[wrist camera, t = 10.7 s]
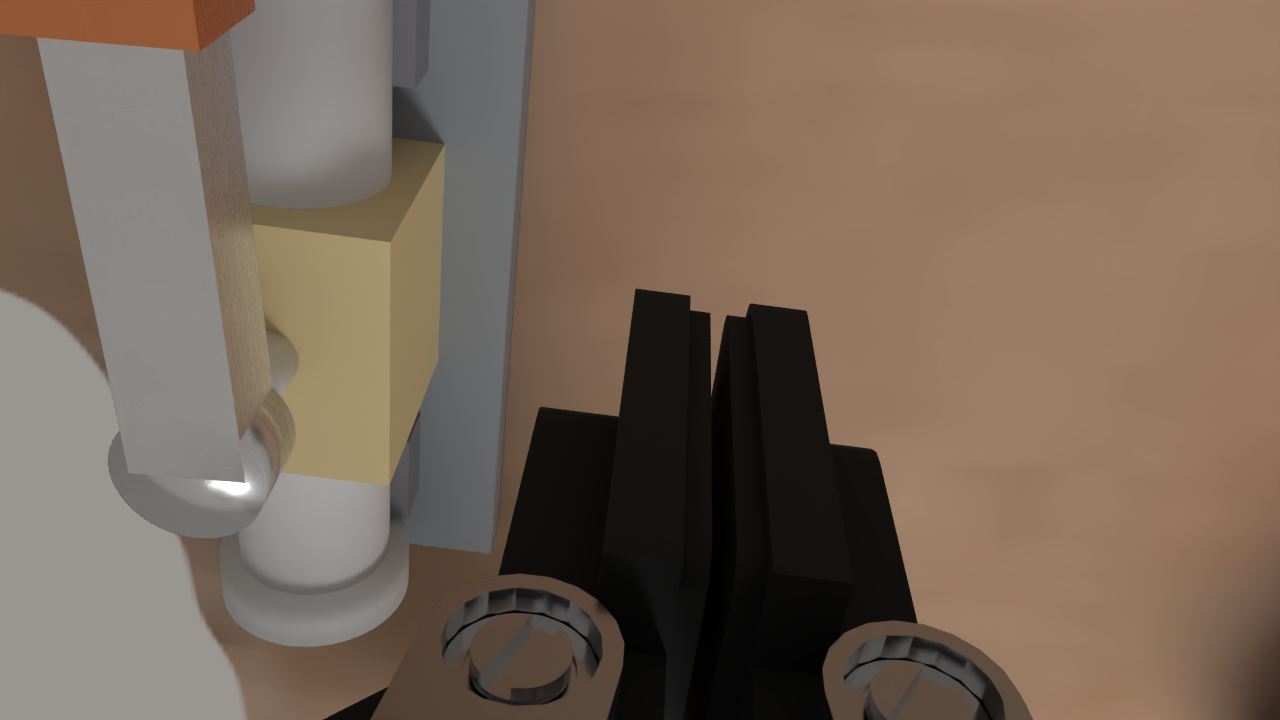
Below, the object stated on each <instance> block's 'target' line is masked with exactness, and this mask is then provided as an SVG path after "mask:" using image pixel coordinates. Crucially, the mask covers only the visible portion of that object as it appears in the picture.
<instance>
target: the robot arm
mask: <svg viewBox="0 0 1280 720" xmlns="http://www.w3.org/2000/svg"><path fill="white" fill-rule="evenodd" d="M323 720H1033V718H1032V716H1031V714H1030V712H1029V710H1028V708H1027V706H1026V704H1025V702H1024V700H1023V698H1022V696H1021V695H1020V693H1019V692H1018V690H1017V689H1016V687H1015V686H1014V684H1013V683H1012V682H1011V680H1010V679H1009V677H1008V676H1007V674H1006V673H1005V672H1004V670H1003V669H1001V668H1000V667H999V666H998V665H997V664H996V663H995V662H994V661H992V660H991V659H990V658H989V657H988V656H987V655H986V654H984V653H983V652H982V651H981V650H979V649H978V648H976V647H974V646H972V645H971V644H969V643H967V642H966V641H964V640H962V639H960V638H959V637H957V636H955V635H953V634H951V633H948V632H945V631H942V630H939V629H936V628H933V627H930V626H927V625H924V624H918V623H917V619H916V614H915V610H914V606H913V601H912V597H911V593H910V589H909V584H908V580H907V576H906V572H905V567H904V563H903V559H902V555H901V550H900V546H899V542H898V537H897V533H896V529H895V525H894V520H893V516H892V512H891V508H890V503H889V499H888V495H887V491H886V486H885V482H884V478H883V474H882V469H881V465H880V461H879V458H878V456H877V453H876V452H875V451H874V450H872V449H868V448H860V447H852V446H844V445H836V444H830V443H829V437H828V431H827V425H826V419H825V413H824V408H823V402H822V396H821V390H820V384H819V378H818V373H817V367H816V361H815V355H814V349H813V343H812V338H811V332H810V326H809V320H808V315H807V312H806V311H804V310H796V309H789V308H781V307H773V306H765V305H758V304H750V305H749V307H748V311H747V314H746V318H745V317H737V316H729V315H727V317H726V320H725V324H724V328H723V334H722V339H721V345H720V351H719V356H718V362H717V367H716V373H715V379H714V384H713V390H712V396H711V329H710V313H706V312H698V311H691V310H690V296H688V295H681V294H673V293H665V292H657V291H650V290H642V289H636V290H635V297H634V305H633V312H632V320H631V328H630V335H629V343H628V351H627V358H626V366H625V374H624V381H623V389H622V397H621V405H620V412H619V417H617V416H609V415H601V414H593V413H586V412H578V411H570V410H562V409H554V408H547V407H540V409H539V411H538V415H537V418H536V422H535V427H534V431H533V435H532V439H531V443H530V447H529V451H528V455H527V460H526V464H525V468H524V472H523V476H522V480H521V484H520V488H519V493H518V497H517V501H516V505H515V509H514V513H513V517H512V522H511V526H510V530H509V534H508V538H507V542H506V546H505V550H504V555H503V559H502V563H501V567H500V571H499V575H498V576H490V577H487V578H484V579H481V580H478V581H475V582H472V583H469V584H466V585H463V586H461V587H460V588H458V589H457V590H455V591H454V592H452V593H451V594H449V595H448V596H446V597H444V598H443V599H441V600H440V601H439V602H438V604H437V605H436V606H435V607H434V609H433V610H432V611H431V612H430V614H429V615H428V616H427V617H426V618H425V620H424V621H423V623H422V625H421V627H420V629H419V631H418V633H417V634H416V636H415V638H414V640H413V642H412V644H411V646H410V647H409V649H408V651H407V653H406V655H405V657H404V658H403V660H402V662H401V664H400V666H399V668H398V670H397V671H396V673H395V675H394V677H393V679H392V681H391V682H390V684H389V686H388V687H387V688H385V689H383V690H381V691H379V692H377V693H375V694H373V695H371V696H369V697H367V698H365V699H363V700H361V701H359V702H357V703H355V704H353V705H351V706H349V707H347V708H345V709H343V710H341V711H339V712H337V713H335V714H333V715H331V716H329V717H327V718H325V719H323Z"/></svg>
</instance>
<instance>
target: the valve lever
mask: <svg viewBox="0 0 1280 720" xmlns="http://www.w3.org/2000/svg"><path fill="white" fill-rule="evenodd" d="M254 11H255V1H254V0H0V33H1V35H12V36H24V37H35V38H37V42H38V47H39V52H40V56H41V61H42V66H43V71H44V75H45V80H46V85H47V90H48V94H49V99H50V104H51V108H52V113H53V118H54V123H55V127H56V132H57V137H58V141H59V146H60V151H61V156H62V160H63V165H64V170H65V175H66V179H67V184H68V189H69V193H70V198H71V203H72V208H73V212H74V217H75V222H76V226H77V231H78V236H79V241H80V245H81V250H82V255H83V260H84V264H85V269H86V274H87V278H88V283H89V288H90V293H91V297H92V302H93V307H94V311H95V316H96V321H97V326H98V330H99V335H100V340H101V345H102V349H103V354H104V359H105V363H106V368H107V373H108V378H109V382H110V387H111V392H112V396H113V401H114V406H115V411H116V415H117V420H118V425H119V430H120V431H119V432H118V433H117V435H116V436H115V438H114V440H113V441H112V444H111V446H110V450H109V455H108V466H109V472H110V475H111V479H112V481H113V483H114V486H115V487H116V489H117V491H118V492H119V494H120V496H121V497H122V498H123V499H124V500H125V502H126V503H127V504H128V505H129V506H130V507H131V508H132V509H133V510H134V511H135V512H136V513H138V514H139V515H140V516H141V517H143V518H144V519H146V520H147V521H149V522H150V523H152V524H154V525H156V526H158V527H160V528H162V529H164V530H167V531H169V532H172V533H175V534H178V535H182V536H186V537H193V538H206V539H208V538H219V537H225V536H228V535H232V534H235V533H237V532H239V531H241V530H243V529H244V528H246V527H247V526H249V525H250V524H251V523H252V522H253V521H254V520H255V519H256V517H257V516H258V515H259V513H260V511H261V509H262V507H263V506H264V504H265V502H266V500H267V498H268V496H269V494H270V492H271V491H272V489H273V487H274V485H275V483H276V481H277V479H278V477H279V476H280V474H281V472H282V470H283V468H284V466H285V464H286V462H287V461H288V459H289V457H290V455H291V453H292V451H293V448H294V445H295V439H296V429H295V423H294V419H293V417H292V414H291V412H290V410H289V408H288V406H287V404H286V403H285V401H284V400H283V398H282V397H281V396H280V395H279V393H278V392H277V391H276V390H275V389H274V388H273V387H272V378H271V370H270V362H269V354H268V345H267V337H266V329H265V321H264V312H263V304H262V296H261V288H260V279H259V271H258V263H257V255H256V246H255V238H254V230H253V221H252V213H251V205H250V197H249V188H248V180H247V172H246V164H245V155H244V147H243V139H242V131H241V122H240V114H239V106H238V97H237V89H236V81H235V73H234V64H233V56H232V48H231V40H230V31H229V29H231V28H232V27H233V26H235V25H236V24H237V23H239V22H240V21H242V20H243V19H244V18H246V17H247V16H248V15H250V14H251V13H252V12H254Z"/></svg>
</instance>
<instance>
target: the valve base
mask: <svg viewBox="0 0 1280 720" xmlns="http://www.w3.org/2000/svg"><path fill="white" fill-rule="evenodd" d="M254 1H255V11H254V12H252V13H251V14H250V15H248V16H247V17H246V18H244V19H243V20H242V21H240V22H239V23H237V24H236V25H235V26H233V27H232V28H231V29H229V31H230V40H231V48H232V56H233V64H234V73H235V81H236V89H237V97H238V106H239V114H240V122H241V131H242V139H243V147H244V155H245V164H246V172H247V180H248V188H249V197H250V205H251V213H252V221H253V230H254V238H255V246H256V255H257V263H258V271H259V279H260V288H261V296H262V304H263V312H264V321H265V329H266V337H267V345H268V354H269V362H270V370H271V378H272V387H273V388H274V389H275V390H276V391H277V392H278V393H279V395H280V396H281V397H282V398H283V400H284V401H285V403H286V404H287V406H288V408H289V410H290V412H291V414H292V417H293V419H294V423H295V429H296V439H295V445H294V448H293V451H292V453H291V455H290V457H289V459H288V461H287V462H286V464H285V466H284V468H283V470H282V472H281V474H280V476H279V477H278V479H277V481H276V483H275V485H274V487H273V489H272V491H271V492H270V494H269V496H268V498H267V500H266V502H265V504H264V506H263V507H262V509H261V511H260V513H259V515H258V516H257V517H256V519H255V520H254V521H253V522H252V523H251V524H250V525H249V526H247V527H246V528H244V529H243V530H241V531H239V532H237V533H235V534H232V535H228V536H225V537H222V539H221V543H220V547H219V564H220V574H221V584H222V594H223V600H224V604H225V606H226V609H227V611H228V612H229V614H230V616H231V617H232V618H233V620H234V621H235V622H236V623H237V624H238V625H239V626H240V627H242V628H243V629H244V630H245V631H247V632H249V633H250V634H252V635H254V636H256V637H258V638H261V639H263V640H265V641H269V642H272V643H276V644H280V645H286V646H295V647H317V646H326V645H331V644H336V643H341V642H344V641H347V640H350V639H353V638H356V637H358V636H361V635H363V634H365V633H367V632H369V631H371V630H372V629H374V628H376V627H377V626H379V625H380V624H381V623H383V622H384V621H385V620H386V619H387V618H389V617H390V616H391V615H392V614H393V613H394V611H395V610H396V609H397V608H398V607H399V605H400V603H401V602H402V600H403V598H404V596H405V594H406V591H407V587H408V581H409V544H415V545H423V546H431V547H439V548H446V549H454V550H462V551H470V552H478V553H486V554H491V550H492V546H493V542H494V538H495V534H496V530H497V526H498V513H499V499H500V485H501V471H502V457H503V443H504V429H505V415H506V401H507V387H508V373H509V360H510V346H511V332H512V318H513V304H514V290H515V276H516V262H517V248H518V234H519V220H520V206H521V192H522V178H523V164H524V150H525V136H526V122H527V108H528V95H529V81H530V67H531V53H532V39H533V25H534V11H535V0H254Z"/></svg>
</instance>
